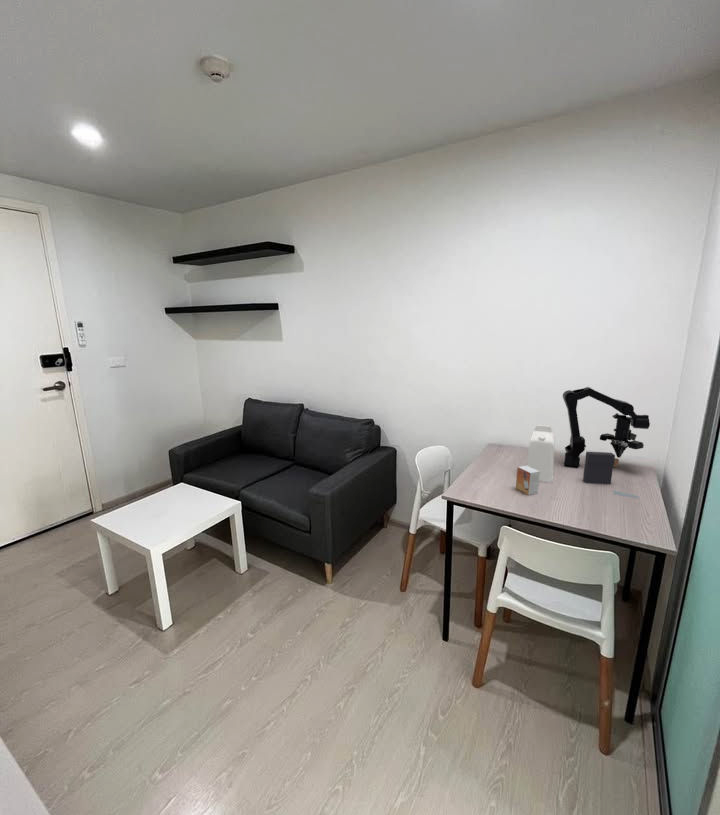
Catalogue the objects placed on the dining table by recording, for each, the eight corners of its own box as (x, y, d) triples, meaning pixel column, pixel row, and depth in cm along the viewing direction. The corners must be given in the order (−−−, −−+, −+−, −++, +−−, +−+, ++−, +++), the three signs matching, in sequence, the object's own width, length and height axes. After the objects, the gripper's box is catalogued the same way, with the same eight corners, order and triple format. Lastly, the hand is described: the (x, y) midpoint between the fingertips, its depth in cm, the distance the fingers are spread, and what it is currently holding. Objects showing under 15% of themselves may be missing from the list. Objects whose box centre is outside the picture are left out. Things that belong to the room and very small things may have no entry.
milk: (552, 475, 197) (558, 424, 191) (552, 483, 187) (557, 430, 182) (526, 471, 202) (531, 421, 197) (524, 479, 192) (529, 427, 187)
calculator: (607, 482, 188) (611, 452, 184) (611, 486, 183) (615, 455, 180) (582, 480, 190) (585, 450, 186) (585, 484, 185) (588, 453, 182)
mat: (614, 495, 174) (614, 494, 174) (611, 484, 185) (611, 483, 185) (638, 499, 170) (638, 498, 170) (634, 487, 181) (634, 487, 181)
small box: (515, 488, 182) (517, 466, 179) (524, 486, 184) (526, 465, 181) (528, 495, 174) (530, 472, 172) (538, 493, 176) (540, 471, 174)
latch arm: (587, 475, 194) (588, 466, 193) (583, 474, 196) (584, 464, 195) (618, 468, 203) (619, 459, 202) (614, 467, 206) (615, 457, 205)
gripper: (653, 430, 191) (648, 460, 195) (615, 421, 208) (611, 450, 211) (638, 432, 187) (633, 464, 190) (600, 423, 204) (597, 452, 207)
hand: (618, 457), depth 200 cm, fingers closed
